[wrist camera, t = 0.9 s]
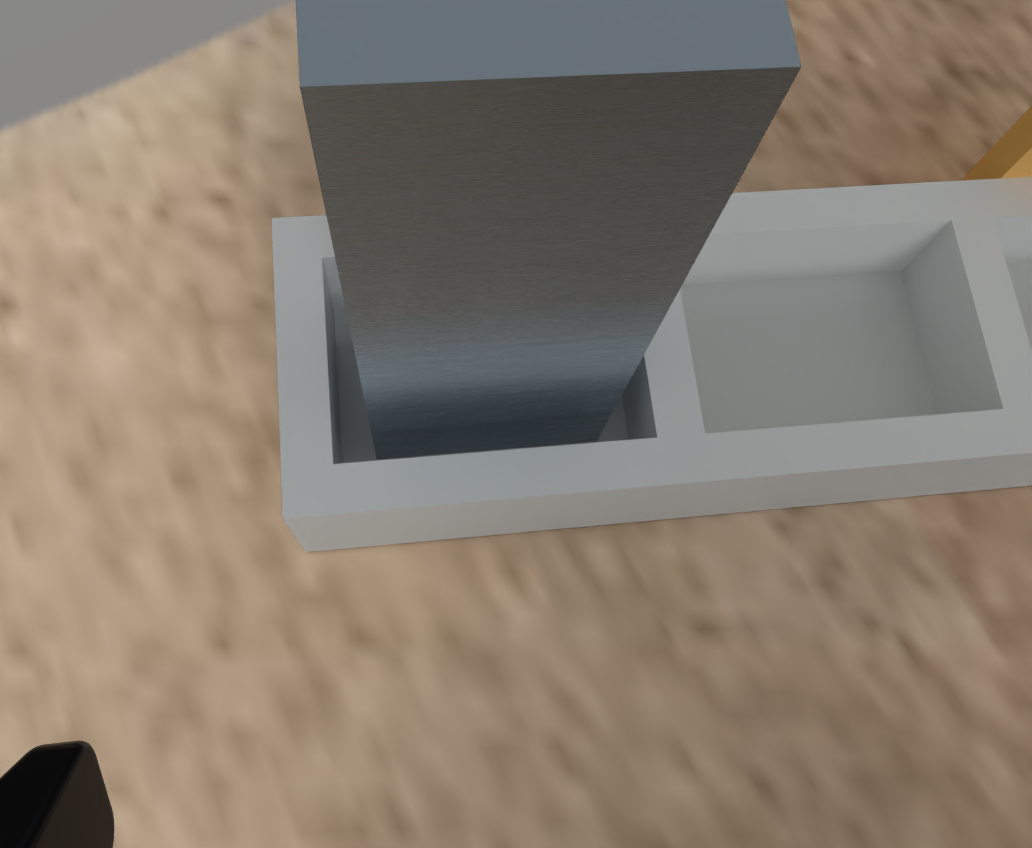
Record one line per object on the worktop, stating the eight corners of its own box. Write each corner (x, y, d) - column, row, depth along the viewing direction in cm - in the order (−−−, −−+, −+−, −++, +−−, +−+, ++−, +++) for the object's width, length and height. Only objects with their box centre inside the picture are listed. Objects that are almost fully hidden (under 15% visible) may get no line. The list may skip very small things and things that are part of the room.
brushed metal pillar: (596, 441, 22) (801, 66, 10) (376, 458, 22) (300, 87, 9) (579, 321, 23) (747, -161, 11) (368, 335, 22) (288, -155, 10)
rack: (1251, 465, 24) (1474, 390, 19) (306, 552, 22) (265, 493, 17) (1162, 209, 27) (1340, 80, 21) (293, 261, 24) (254, 128, 19)
